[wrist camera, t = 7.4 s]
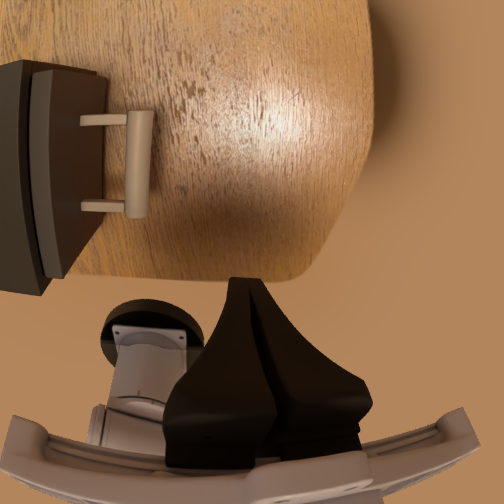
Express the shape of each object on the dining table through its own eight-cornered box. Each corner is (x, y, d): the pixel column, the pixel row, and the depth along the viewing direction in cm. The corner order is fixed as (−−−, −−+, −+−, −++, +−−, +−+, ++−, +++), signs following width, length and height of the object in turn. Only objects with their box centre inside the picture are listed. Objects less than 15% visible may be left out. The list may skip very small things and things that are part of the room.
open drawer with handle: (168, 76, 16) (143, 61, 9) (157, 224, 21) (137, 286, 14) (-30, 101, 13) (-93, 116, 6) (-22, 217, 18) (-74, 261, 11)
